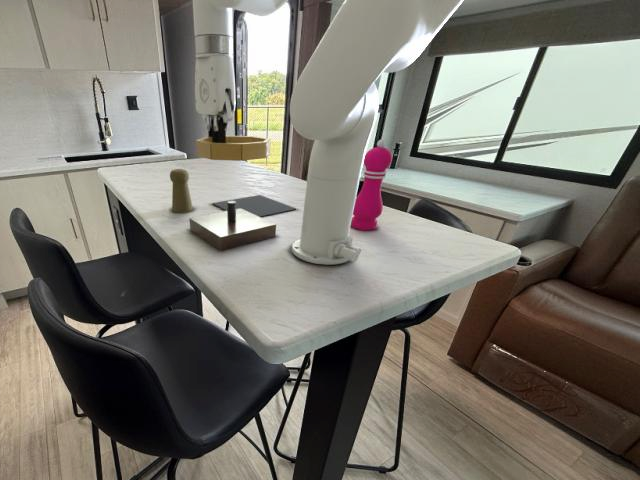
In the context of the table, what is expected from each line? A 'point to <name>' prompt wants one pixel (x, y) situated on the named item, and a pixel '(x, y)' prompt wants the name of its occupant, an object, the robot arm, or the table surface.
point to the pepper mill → (371, 188)
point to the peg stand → (232, 227)
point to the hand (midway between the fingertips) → (217, 149)
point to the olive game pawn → (180, 191)
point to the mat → (257, 205)
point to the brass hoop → (234, 148)
